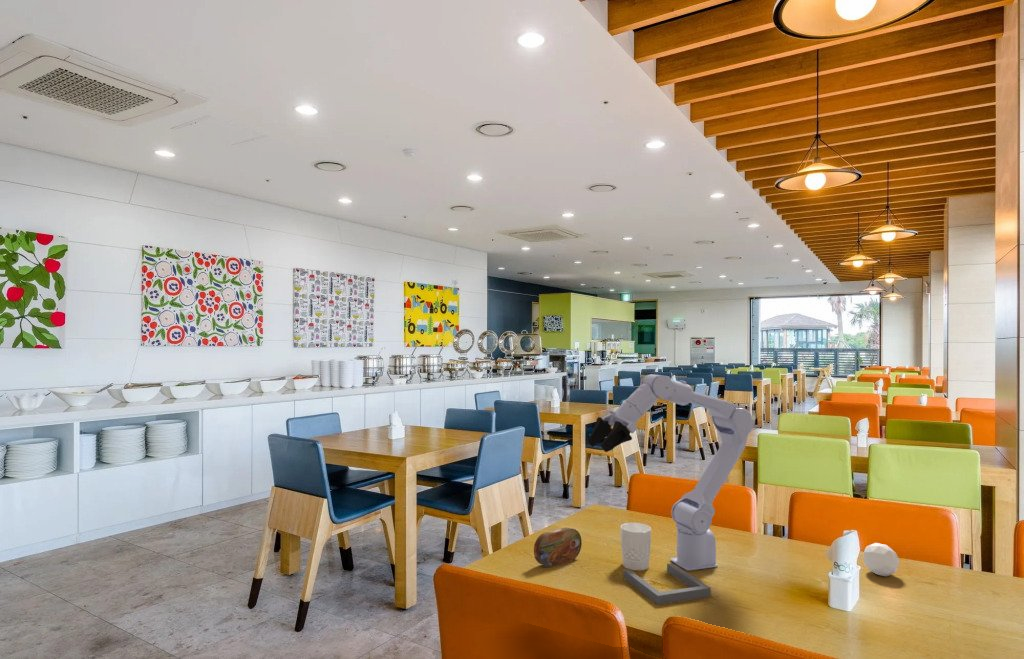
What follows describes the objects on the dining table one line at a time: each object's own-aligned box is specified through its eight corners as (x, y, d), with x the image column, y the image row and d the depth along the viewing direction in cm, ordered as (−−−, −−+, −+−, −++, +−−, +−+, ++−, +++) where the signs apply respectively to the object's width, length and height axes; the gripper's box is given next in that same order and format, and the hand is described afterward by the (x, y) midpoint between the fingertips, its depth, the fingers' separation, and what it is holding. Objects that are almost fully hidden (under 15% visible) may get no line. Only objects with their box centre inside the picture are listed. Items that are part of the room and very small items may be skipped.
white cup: (651, 572, 145) (651, 533, 145) (620, 570, 147) (620, 530, 147) (650, 561, 153) (650, 523, 153) (620, 559, 154) (620, 521, 155)
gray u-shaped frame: (672, 571, 146) (672, 563, 146) (710, 596, 132) (710, 587, 132) (623, 577, 142) (623, 569, 142) (657, 604, 127) (657, 595, 127)
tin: (539, 570, 146) (539, 537, 147) (531, 566, 149) (531, 534, 149) (582, 557, 155) (582, 526, 156) (574, 554, 158) (574, 523, 158)
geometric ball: (874, 586, 144) (852, 558, 146) (881, 566, 150) (860, 540, 151) (903, 580, 139) (880, 551, 140) (909, 560, 144) (887, 533, 146)
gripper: (610, 395, 153) (574, 430, 149) (638, 400, 139) (600, 439, 136) (625, 414, 154) (590, 450, 151) (654, 421, 140) (617, 460, 137)
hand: (596, 446), depth 143 cm, fingers open, 7 cm apart
